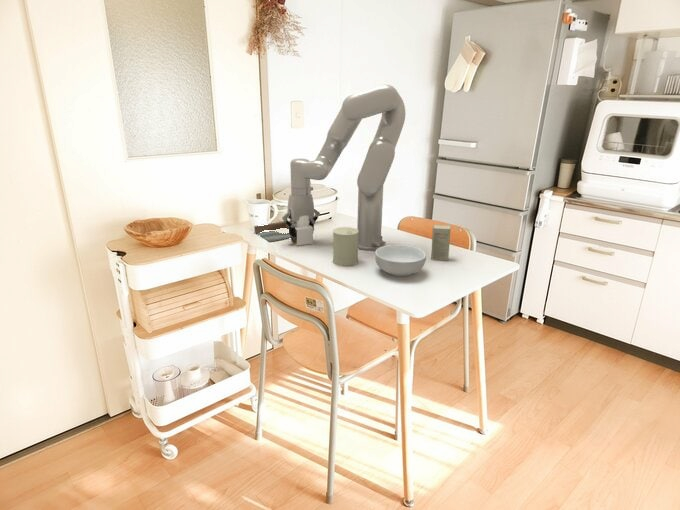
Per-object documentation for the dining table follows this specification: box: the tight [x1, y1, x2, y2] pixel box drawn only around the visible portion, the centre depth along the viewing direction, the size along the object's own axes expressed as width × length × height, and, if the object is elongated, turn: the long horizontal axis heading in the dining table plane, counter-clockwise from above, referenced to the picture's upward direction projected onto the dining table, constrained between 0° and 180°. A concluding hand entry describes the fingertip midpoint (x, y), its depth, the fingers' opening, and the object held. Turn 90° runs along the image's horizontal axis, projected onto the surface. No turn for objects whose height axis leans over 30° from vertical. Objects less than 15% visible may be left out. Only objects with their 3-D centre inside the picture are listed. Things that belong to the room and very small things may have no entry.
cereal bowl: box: [374, 244, 427, 277], centre depth 148 cm, size 17×17×7 cm
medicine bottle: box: [290, 215, 314, 247], centre depth 176 cm, size 7×7×12 cm
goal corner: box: [253, 220, 291, 243], centre depth 188 cm, size 16×16×3 cm
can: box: [332, 226, 359, 267], centre depth 157 cm, size 9×9×12 cm
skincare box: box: [430, 224, 451, 262], centre depth 160 cm, size 6×4×12 cm
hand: (301, 234), depth 177 cm, fingers closed on medicine bottle, 7 cm apart
